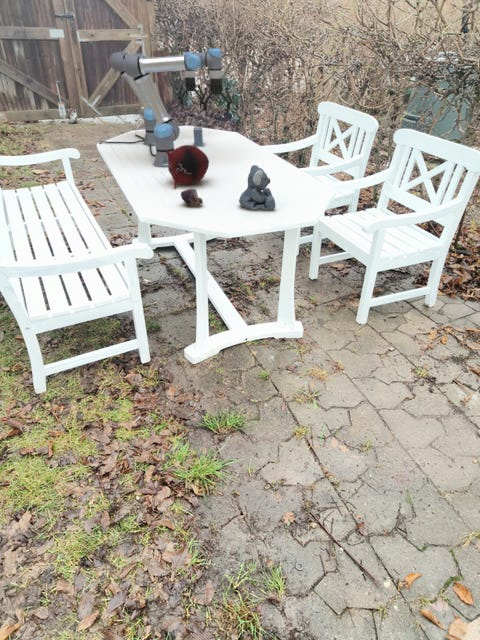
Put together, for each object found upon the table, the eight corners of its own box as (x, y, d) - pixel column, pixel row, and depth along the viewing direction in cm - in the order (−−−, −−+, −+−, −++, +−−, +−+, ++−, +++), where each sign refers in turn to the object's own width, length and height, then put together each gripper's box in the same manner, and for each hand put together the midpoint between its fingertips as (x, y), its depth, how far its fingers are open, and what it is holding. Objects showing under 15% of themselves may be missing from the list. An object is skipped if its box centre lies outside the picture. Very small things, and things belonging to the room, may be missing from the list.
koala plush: (276, 211, 223) (277, 171, 212) (240, 212, 222) (240, 172, 211) (271, 199, 237) (272, 161, 226) (237, 200, 236) (237, 162, 225)
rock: (196, 202, 238) (178, 205, 233) (194, 185, 234) (176, 188, 230) (205, 205, 228) (187, 208, 224) (203, 188, 224) (185, 191, 220)
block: (202, 146, 332) (202, 129, 326) (194, 146, 332) (193, 129, 325) (203, 143, 340) (202, 126, 333) (194, 143, 339) (193, 127, 333)
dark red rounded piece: (166, 150, 266) (161, 149, 242) (205, 142, 265) (203, 139, 241) (175, 187, 273) (171, 189, 249) (213, 178, 272) (212, 180, 248)
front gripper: (235, 77, 278) (236, 114, 290) (195, 77, 277) (197, 114, 289) (236, 78, 272) (236, 116, 284) (195, 79, 271) (197, 117, 283)
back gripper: (207, 76, 329) (208, 107, 341) (173, 76, 329) (176, 108, 341) (206, 77, 323) (208, 109, 335) (172, 77, 323) (174, 109, 335)
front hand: (217, 115), depth 287 cm, fingers open, 13 cm apart
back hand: (191, 108), depth 338 cm, fingers open, 13 cm apart
